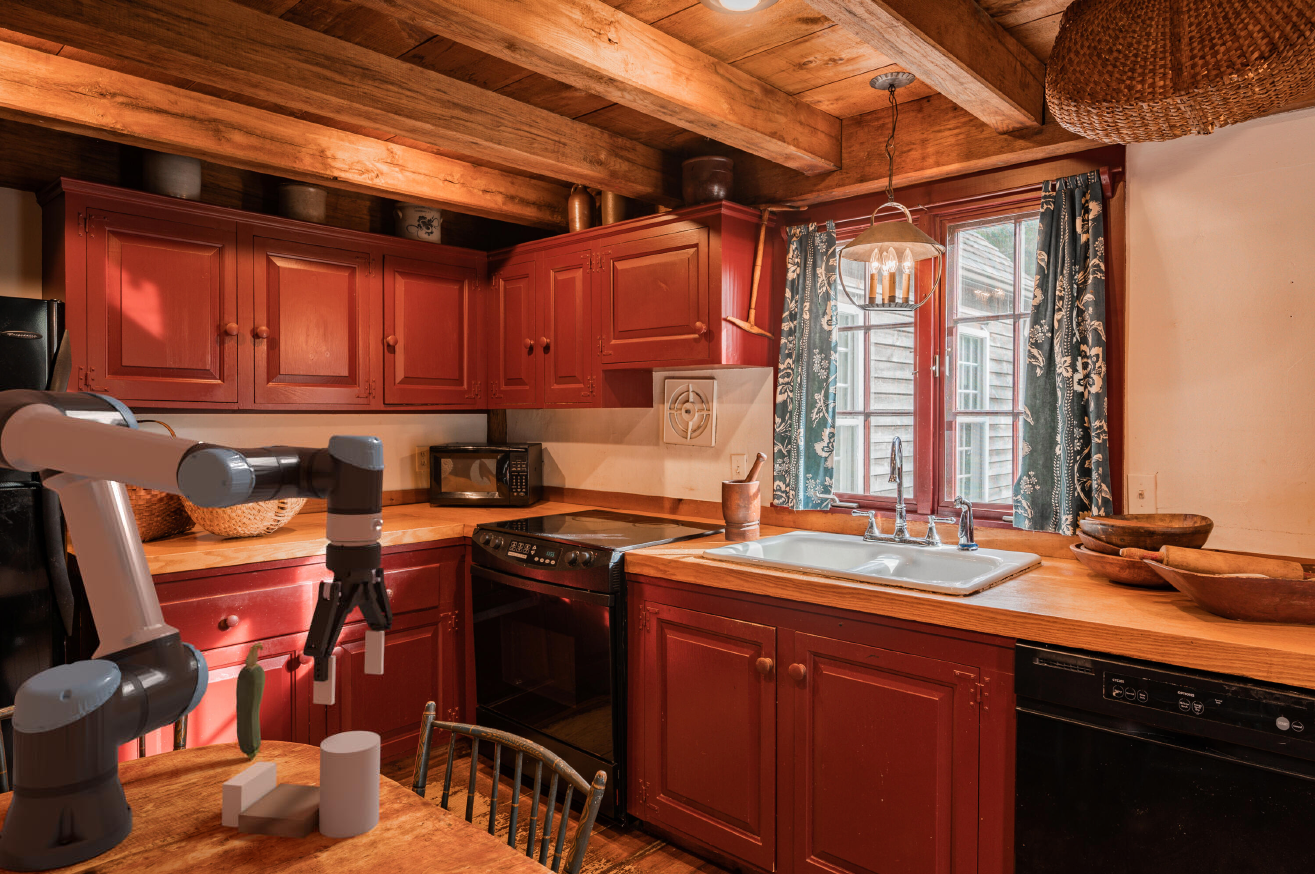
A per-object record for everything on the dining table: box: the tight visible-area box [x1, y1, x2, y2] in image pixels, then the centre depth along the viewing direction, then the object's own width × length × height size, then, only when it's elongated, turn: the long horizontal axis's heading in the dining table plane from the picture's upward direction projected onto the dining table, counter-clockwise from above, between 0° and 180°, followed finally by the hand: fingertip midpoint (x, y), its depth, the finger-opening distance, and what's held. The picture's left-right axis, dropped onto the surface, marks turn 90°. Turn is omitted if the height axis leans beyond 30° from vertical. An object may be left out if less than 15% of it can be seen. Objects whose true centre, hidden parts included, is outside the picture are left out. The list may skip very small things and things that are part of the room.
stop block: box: [221, 761, 277, 828], centre depth 118 cm, size 3×8×6 cm, turn 171°
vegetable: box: [235, 641, 266, 761], centre depth 138 cm, size 4×4×20 cm
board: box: [237, 783, 320, 839], centre depth 117 cm, size 10×10×3 cm
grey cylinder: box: [318, 730, 381, 839], centre depth 116 cm, size 8×8×12 cm
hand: (350, 687), depth 116 cm, fingers open, 13 cm apart
